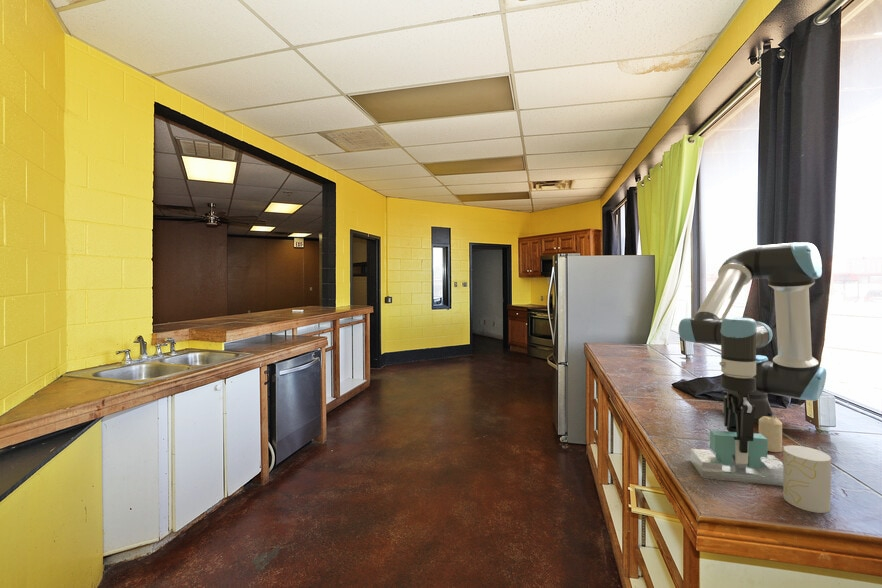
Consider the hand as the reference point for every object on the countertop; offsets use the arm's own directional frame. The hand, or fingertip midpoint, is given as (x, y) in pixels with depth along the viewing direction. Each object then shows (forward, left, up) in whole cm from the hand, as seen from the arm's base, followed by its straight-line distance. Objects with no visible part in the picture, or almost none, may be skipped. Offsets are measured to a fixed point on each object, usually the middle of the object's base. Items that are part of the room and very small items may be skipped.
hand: (737, 459), depth 105 cm
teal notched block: (0, 0, -1) cm, 1 cm away
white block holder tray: (0, 0, -4) cm, 4 cm away
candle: (-16, -19, -4) cm, 25 cm away
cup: (-9, +12, -4) cm, 16 cm away
